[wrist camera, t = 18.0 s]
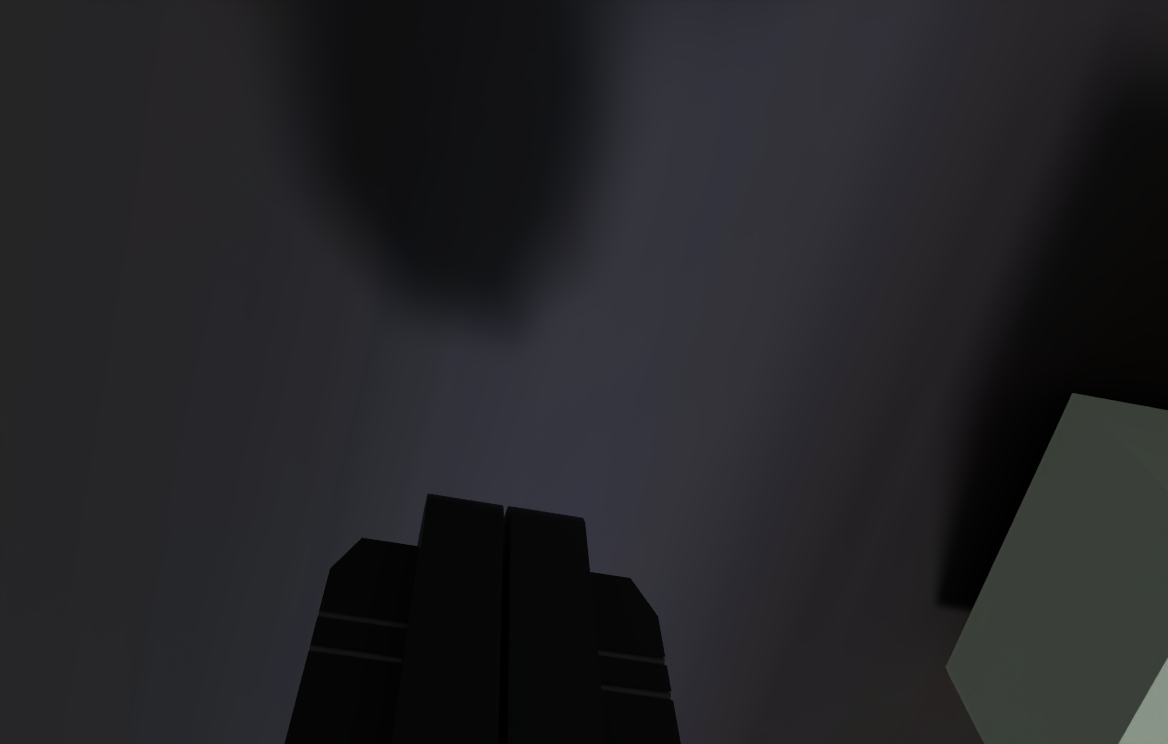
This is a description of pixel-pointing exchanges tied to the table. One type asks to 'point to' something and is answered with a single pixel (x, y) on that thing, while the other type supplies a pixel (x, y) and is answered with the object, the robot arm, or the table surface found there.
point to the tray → (1078, 592)
